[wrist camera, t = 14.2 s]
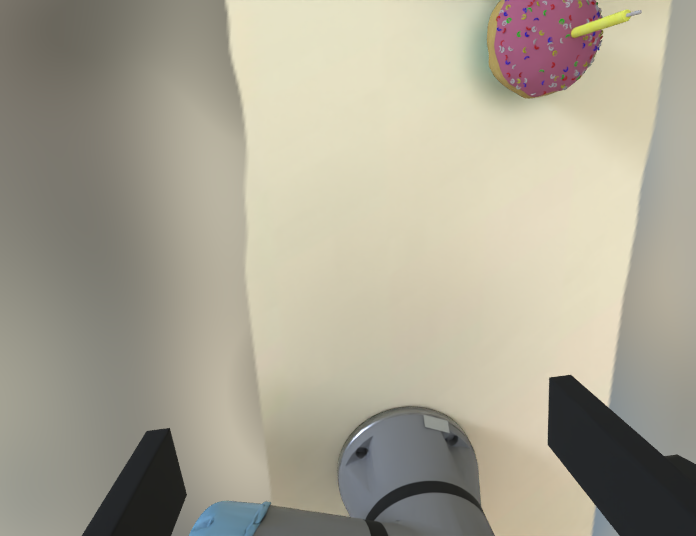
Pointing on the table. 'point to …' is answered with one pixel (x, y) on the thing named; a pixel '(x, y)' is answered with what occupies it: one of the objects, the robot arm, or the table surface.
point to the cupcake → (545, 42)
